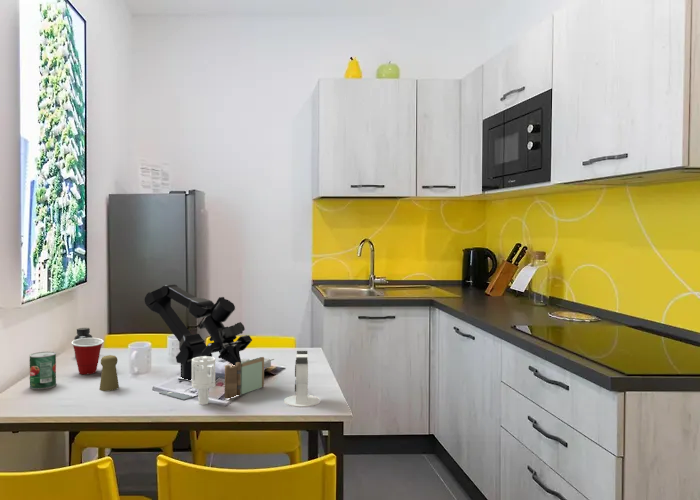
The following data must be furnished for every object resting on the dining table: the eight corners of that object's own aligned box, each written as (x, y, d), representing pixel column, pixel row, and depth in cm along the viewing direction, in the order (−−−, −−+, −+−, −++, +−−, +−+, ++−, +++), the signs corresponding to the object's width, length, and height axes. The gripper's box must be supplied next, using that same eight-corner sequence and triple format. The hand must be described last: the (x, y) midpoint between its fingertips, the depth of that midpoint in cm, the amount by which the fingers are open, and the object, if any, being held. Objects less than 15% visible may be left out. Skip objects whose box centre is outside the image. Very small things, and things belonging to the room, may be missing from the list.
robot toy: (225, 375, 212) (260, 376, 207) (224, 363, 212) (259, 364, 207) (242, 367, 223) (276, 368, 218) (241, 356, 223) (275, 357, 218)
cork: (114, 384, 194) (114, 352, 194) (121, 388, 190) (121, 356, 190) (96, 388, 190) (96, 355, 190) (103, 392, 186) (103, 358, 185)
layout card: (159, 393, 185) (159, 392, 185) (181, 387, 192) (181, 385, 192) (183, 400, 178) (183, 398, 178) (205, 393, 186) (205, 392, 186)
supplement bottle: (87, 354, 237) (87, 326, 237) (96, 357, 233) (96, 328, 233) (71, 357, 232) (70, 328, 231) (80, 360, 228) (79, 330, 227)
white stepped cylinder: (193, 407, 171) (193, 358, 170) (190, 401, 177) (190, 353, 177) (217, 405, 174) (217, 356, 173) (212, 398, 180) (213, 352, 180)
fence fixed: (223, 399, 179) (223, 366, 179) (238, 394, 185) (238, 361, 184) (227, 400, 178) (227, 366, 178) (242, 395, 184) (242, 362, 183)
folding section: (238, 393, 185) (239, 363, 184) (261, 385, 194) (261, 356, 193) (242, 394, 184) (242, 363, 184) (264, 386, 193) (265, 357, 193)
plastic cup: (76, 378, 202) (76, 344, 201) (67, 372, 210) (67, 339, 209) (108, 373, 209) (107, 341, 208) (98, 367, 217) (98, 336, 216)
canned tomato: (24, 387, 189) (23, 355, 189) (44, 381, 197) (43, 350, 196) (42, 390, 187) (41, 357, 186) (61, 384, 194) (61, 352, 193)
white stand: (284, 395, 185) (285, 349, 184) (319, 395, 186) (320, 349, 185) (283, 407, 173) (283, 358, 172) (320, 406, 174) (320, 358, 173)
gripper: (207, 319, 184) (232, 357, 178) (248, 312, 200) (271, 347, 194) (191, 340, 189) (214, 378, 183) (232, 332, 204) (254, 366, 199)
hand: (240, 366), depth 189 cm, fingers closed
